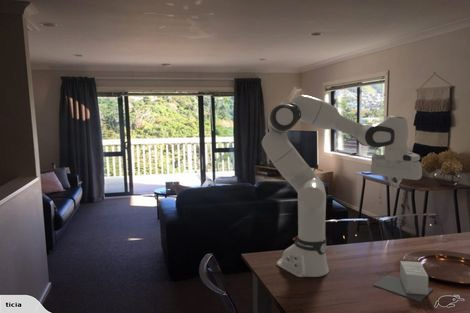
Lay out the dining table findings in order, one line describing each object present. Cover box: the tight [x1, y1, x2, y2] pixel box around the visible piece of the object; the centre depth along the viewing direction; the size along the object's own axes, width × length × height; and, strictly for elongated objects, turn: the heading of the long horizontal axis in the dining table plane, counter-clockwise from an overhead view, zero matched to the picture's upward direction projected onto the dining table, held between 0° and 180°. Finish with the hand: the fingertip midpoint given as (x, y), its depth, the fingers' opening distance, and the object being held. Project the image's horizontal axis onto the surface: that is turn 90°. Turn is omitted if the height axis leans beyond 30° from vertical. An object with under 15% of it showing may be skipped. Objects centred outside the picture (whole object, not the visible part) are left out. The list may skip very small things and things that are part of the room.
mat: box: [373, 274, 434, 303], centre depth 136 cm, size 17×12×1 cm
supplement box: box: [399, 260, 429, 296], centre depth 135 cm, size 7×7×13 cm
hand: (394, 187), depth 151 cm, fingers closed
